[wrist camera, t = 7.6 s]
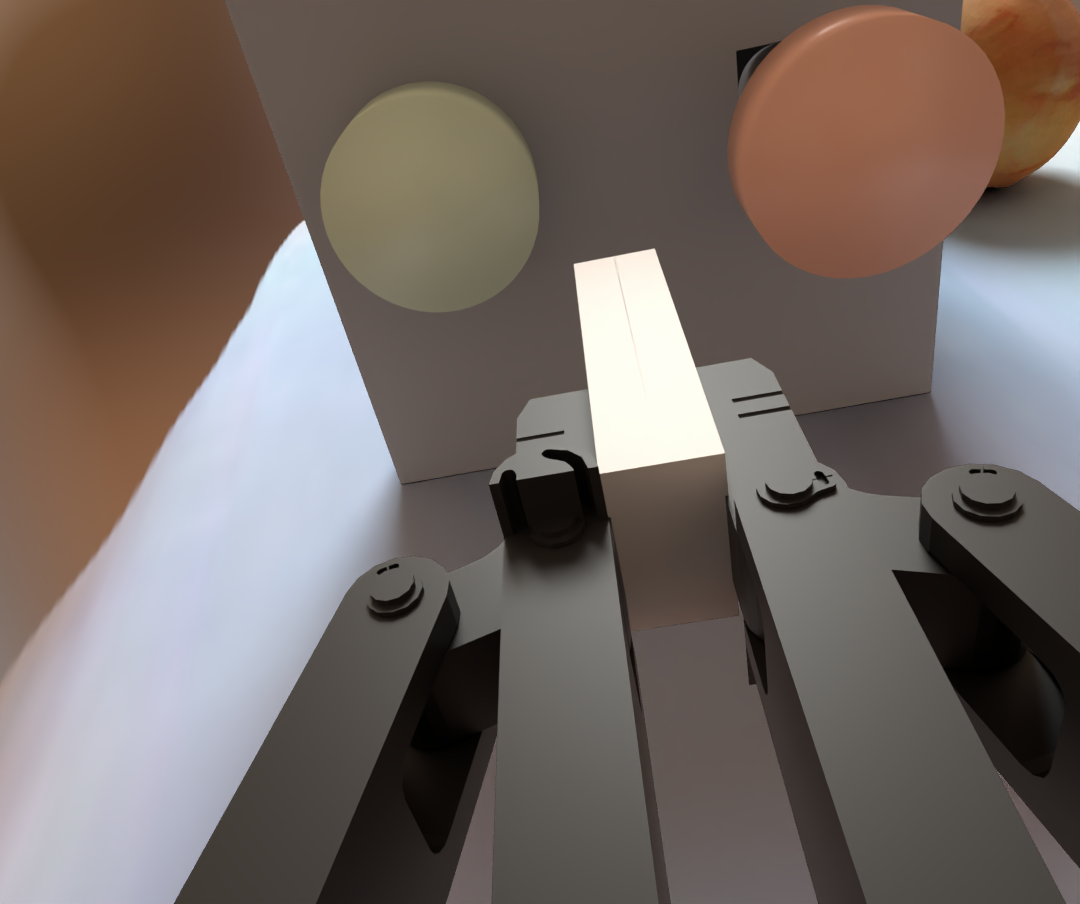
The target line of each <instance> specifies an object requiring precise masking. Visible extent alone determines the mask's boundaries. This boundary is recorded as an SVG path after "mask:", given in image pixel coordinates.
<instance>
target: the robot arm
mask: <svg viewBox="0 0 1080 904" xmlns="http://www.w3.org/2000/svg"><path fill="white" fill-rule="evenodd" d="M574 271H575V279H576V288H577V296H578V305H579V313H580V321H581V330H582V338H583V347H584V355H585V364H586V372H587V381H588V389H586V390H580V391H574V392H569V393H563V394H557V395H552V396H546V397H540V398H535V399H530V400H529V401H528V403H527V404H526V406H525V407H524V409H523V410H522V412H521V413H520V415H519V416H518V418H517V437H516V439H517V442H516V454H515V455H513V456H511V457H509V458H507V459H506V460H505V461H504V462H503V463H502V464H501V465H500V466H499V467H498V468H497V469H496V470H495V471H494V472H493V475H492V477H491V480H490V483H489V487H490V491H491V494H492V498H493V501H494V504H495V508H496V511H497V515H498V518H499V521H500V525H501V528H502V532H503V535H504V541H503V542H502V543H501V544H500V545H499V546H498V547H497V548H496V549H494V550H493V551H492V552H490V553H489V554H488V555H486V556H485V557H483V558H481V559H479V560H477V561H475V562H473V563H470V564H468V565H465V566H463V567H460V568H458V569H455V570H453V571H451V572H448V573H446V571H445V569H444V567H443V566H441V565H440V564H438V563H437V562H435V561H434V560H432V559H430V558H424V557H418V556H410V557H402V558H395V559H392V560H389V561H387V562H384V563H382V564H379V565H377V566H375V567H373V568H372V569H370V570H369V571H368V572H366V573H365V574H363V575H362V576H361V577H359V578H358V579H357V580H356V582H355V583H354V584H353V585H352V586H351V588H350V589H349V590H348V591H347V593H346V594H345V596H344V598H343V600H342V602H341V603H340V605H339V607H338V609H337V611H336V612H335V614H334V616H333V618H332V620H331V621H330V623H329V625H328V627H327V629H326V630H325V632H324V634H323V636H322V638H321V639H320V641H319V643H318V645H317V647H316V648H315V650H314V652H313V654H312V656H311V657H310V659H309V661H308V663H307V665H306V666H305V668H304V670H303V672H302V674H301V675H300V677H299V679H298V681H297V683H296V684H295V686H294V688H293V690H292V692H291V693H290V695H289V697H288V699H287V701H286V703H285V704H284V706H283V708H282V710H281V712H280V713H279V715H278V717H277V719H276V721H275V722H274V724H273V726H272V728H271V730H270V731H269V733H268V735H267V737H266V739H265V740H264V742H263V744H262V746H261V748H260V749H259V751H258V753H257V755H256V757H255V758H254V760H253V762H252V764H251V766H250V767H249V769H248V771H247V773H246V775H245V776H244V778H243V780H242V782H241V784H240V785H239V787H238V789H237V791H236V793H235V794H234V796H233V798H232V800H231V802H230V803H229V805H228V807H227V809H226V811H225V812H224V814H223V816H222V818H221V820H220V821H219V823H218V825H217V827H216V829H215V830H214V832H213V834H212V836H211V838H210V839H209V841H208V843H207V845H206V847H205V848H204V850H203V852H202V854H201V856H200V857H199V859H198V861H197V863H196V865H195V866H194V868H193V870H192V872H191V874H190V875H189V877H188V879H187V881H186V883H185V884H184V886H183V888H182V890H181V892H180V893H179V895H178V897H177V899H176V901H175V902H174V904H446V901H447V898H448V894H449V891H450V888H451V885H452V881H453V878H454V875H455V871H456V868H457V865H458V861H459V858H460V855H461V852H462V848H463V845H464V842H465V838H466V835H467V832H468V829H469V825H470V822H471V819H472V815H473V812H474V809H475V805H476V802H477V799H478V796H479V792H480V789H481V786H482V782H483V779H484V776H485V773H486V769H487V766H488V763H489V759H490V756H491V753H492V749H493V746H494V743H495V740H496V736H497V759H496V788H495V818H494V848H493V878H492V904H671V902H670V895H669V888H668V881H667V874H666V867H665V860H664V853H663V846H662V839H661V832H660V825H659V818H658V811H657V804H656V797H655V790H654V783H653V776H652V769H651V762H650V755H649V747H648V740H647V733H646V726H645V719H644V712H643V705H642V698H641V691H640V684H639V677H638V670H637V663H636V658H635V652H634V647H633V642H632V637H631V631H636V630H643V629H650V628H657V627H664V626H670V625H677V624H684V623H691V622H698V621H705V620H712V619H718V618H725V617H732V616H739V609H738V600H739V604H740V607H741V610H742V614H743V617H744V627H745V639H746V652H747V664H748V676H749V685H752V684H757V687H758V691H759V694H760V698H761V701H762V705H763V708H764V712H765V716H766V719H767V723H768V726H769V730H770V733H771V737H772V740H773V744H774V748H775V751H776V755H777V758H778V762H779V765H780V769H781V772H782V776H783V780H784V783H785V787H786V790H787V794H788V797H789V801H790V805H791V808H792V812H793V815H794V819H795V822H796V826H797V829H798V833H799V837H800V840H801V844H802V847H803V851H804V854H805V858H806V862H807V865H808V869H809V872H810V876H811V879H812V883H813V886H814V890H815V894H816V897H817V901H818V904H1066V903H1065V901H1064V899H1063V897H1062V895H1061V893H1060V891H1059V889H1058V888H1057V886H1056V884H1055V882H1054V880H1053V878H1052V876H1051V874H1050V872H1049V870H1048V868H1047V867H1046V865H1045V863H1044V861H1043V859H1042V857H1041V855H1040V853H1039V851H1038V849H1037V847H1036V846H1035V844H1034V842H1033V840H1032V838H1031V836H1030V834H1029V832H1028V830H1027V828H1026V826H1025V824H1024V823H1023V821H1022V819H1021V817H1020V815H1019V813H1018V811H1017V809H1016V807H1015V805H1014V803H1013V802H1012V800H1011V798H1010V796H1009V794H1008V792H1007V790H1006V788H1005V786H1004V784H1003V782H1002V781H1001V779H1000V777H999V775H998V773H997V771H998V772H999V773H1000V774H1001V775H1002V776H1003V778H1004V779H1005V780H1006V781H1007V782H1008V784H1009V785H1010V786H1011V787H1012V788H1013V790H1014V791H1015V792H1016V793H1017V794H1018V795H1019V797H1020V798H1021V799H1022V800H1023V801H1024V803H1025V804H1026V805H1027V806H1028V807H1029V809H1030V810H1031V811H1032V812H1033V813H1034V815H1035V816H1036V817H1037V818H1038V819H1039V820H1040V822H1041V823H1042V824H1043V825H1044V826H1045V828H1046V829H1047V830H1048V831H1049V832H1050V834H1051V835H1052V836H1053V837H1054V838H1055V839H1056V841H1057V842H1058V843H1059V844H1060V845H1061V847H1062V848H1063V849H1064V850H1065V851H1066V853H1067V854H1068V855H1069V856H1070V857H1071V859H1072V860H1073V861H1074V862H1075V863H1076V864H1077V866H1078V867H1079V868H1080V511H1078V510H1077V509H1076V508H1074V507H1073V506H1072V505H1070V504H1069V503H1067V502H1066V501H1065V500H1063V499H1062V498H1061V497H1059V496H1058V495H1057V494H1055V493H1054V492H1052V491H1051V490H1050V489H1048V488H1047V487H1046V486H1044V485H1043V484H1042V483H1040V482H1039V481H1037V480H1035V479H1033V478H1031V477H1029V476H1027V475H1025V474H1023V473H1022V472H1020V471H1017V470H1013V469H1009V468H1005V467H1001V466H997V465H984V464H966V465H961V466H956V467H950V468H946V469H944V470H943V471H941V472H939V473H937V474H935V475H933V476H931V477H930V478H929V479H928V481H927V482H926V483H925V485H924V486H923V488H922V489H921V497H905V496H887V495H878V494H870V493H865V492H861V491H858V490H854V489H850V488H848V486H847V484H846V482H845V481H844V480H843V479H842V478H841V477H840V475H839V474H838V473H837V472H836V471H835V470H834V469H832V468H830V467H828V466H826V465H823V464H821V463H819V462H818V461H817V459H816V457H815V455H814V453H813V451H812V449H811V447H810V445H809V443H808V441H807V439H806V437H805V435H804V433H803V431H802V429H801V427H800V425H799V423H798V421H797V419H796V417H795V415H794V413H793V411H792V409H791V410H790V405H789V403H788V401H787V399H786V397H785V395H784V394H783V393H782V389H781V387H780V385H779V383H778V381H777V379H776V377H775V375H774V373H773V372H772V371H771V370H769V369H768V368H766V367H765V366H763V365H761V364H760V363H758V362H757V361H755V360H754V359H752V358H748V359H742V360H737V361H731V362H725V363H720V364H714V365H708V366H703V367H697V368H696V367H695V364H694V361H693V359H692V356H691V353H690V350H689V347H688V344H687V341H686V338H685V335H684V332H683V330H682V327H681V324H680V321H679V318H678V315H677V312H676V309H675V306H674V303H673V300H672V298H671V295H670V292H669V289H668V286H667V283H666V280H665V277H664V274H663V271H662V269H661V266H660V263H659V260H658V257H657V254H656V251H655V249H650V250H644V251H639V252H634V253H629V254H624V255H618V256H613V257H608V258H603V259H598V260H592V261H587V262H582V263H577V264H574ZM995 768H996V769H997V771H996V769H995Z"/></svg>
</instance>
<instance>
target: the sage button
mask: <svg viewBox="0 0 1080 904" xmlns="http://www.w3.org/2000/svg"><path fill="white" fill-rule="evenodd" d="M320 201H321V212H322V219H323V223H324V226H325V230H326V233H327V236H328V238H329V241H330V243H331V245H332V247H333V249H334V251H335V253H336V254H337V256H338V258H339V259H340V261H341V262H342V263H343V265H344V266H345V267H346V269H347V270H348V271H349V272H350V273H351V274H352V275H353V276H354V277H355V279H356V280H357V281H359V282H360V283H361V284H362V285H363V286H365V287H366V288H367V289H368V290H370V291H371V292H373V293H374V294H376V295H377V296H379V297H381V298H383V299H385V300H387V301H389V302H391V303H393V304H396V305H399V306H401V307H404V308H408V309H412V310H417V311H424V312H450V311H458V310H462V309H466V308H470V307H472V306H475V305H477V304H480V303H482V302H484V301H486V300H488V299H490V298H492V297H493V296H495V295H496V294H498V293H499V292H500V291H502V290H503V289H504V288H505V287H506V286H507V285H508V284H509V283H511V282H512V281H513V280H514V278H515V277H516V276H517V275H518V273H519V272H520V271H521V270H522V268H523V266H524V265H525V263H526V261H527V260H528V258H529V256H530V253H531V251H532V249H533V246H534V243H535V239H536V236H537V232H538V224H539V193H538V181H537V173H536V168H535V164H534V160H533V156H532V154H531V151H530V149H529V146H528V144H527V142H526V140H525V139H524V137H523V135H522V133H521V131H520V130H519V129H518V127H517V126H516V125H515V123H514V122H513V121H512V119H511V118H510V117H509V116H508V115H507V114H506V113H505V112H504V111H503V110H502V109H501V108H499V107H498V106H497V105H496V104H494V103H493V102H492V101H491V100H489V99H487V98H486V97H484V96H482V95H481V94H479V93H477V92H475V91H473V90H470V89H468V88H466V87H463V86H459V85H456V84H452V83H446V82H439V81H420V82H413V83H407V84H404V85H400V86H397V87H394V88H392V89H390V90H387V91H385V92H383V93H381V94H380V95H378V96H377V97H375V98H374V99H372V100H371V101H369V102H368V103H367V104H366V105H365V106H364V107H363V108H362V109H361V110H360V111H359V112H358V113H357V114H356V115H355V117H354V118H353V119H352V120H351V122H350V123H349V124H348V126H347V127H346V129H345V130H344V131H343V133H342V134H341V136H340V137H339V139H338V140H337V142H336V144H335V145H334V147H333V148H332V150H331V152H330V155H329V157H328V159H327V162H326V164H325V168H324V172H323V176H322V182H321V190H320Z"/></svg>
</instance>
